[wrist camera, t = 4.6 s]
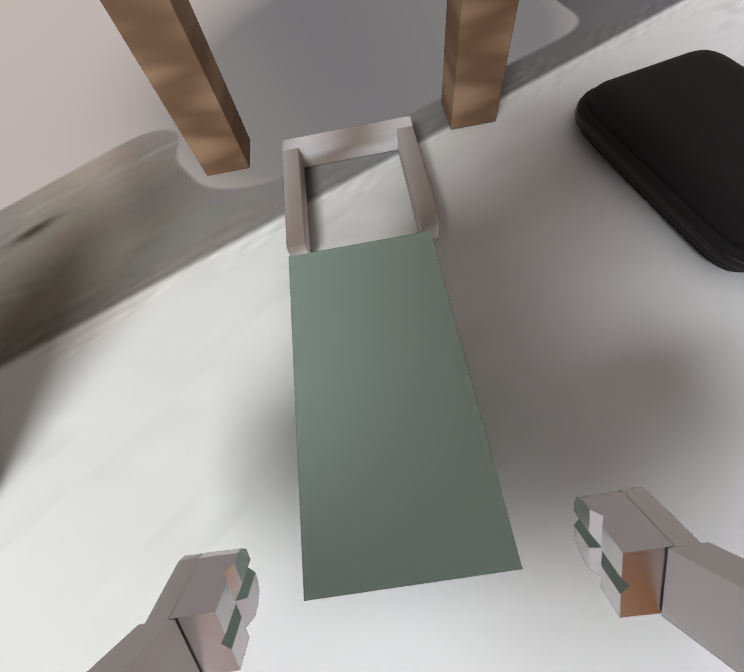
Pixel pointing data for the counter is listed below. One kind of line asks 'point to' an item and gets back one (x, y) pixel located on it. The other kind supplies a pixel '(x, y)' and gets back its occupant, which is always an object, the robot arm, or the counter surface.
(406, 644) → the counter surface
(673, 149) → the carrying case or bag
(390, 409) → the sage rectangular block
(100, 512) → the counter surface
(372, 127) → the walnut overhang shelf
